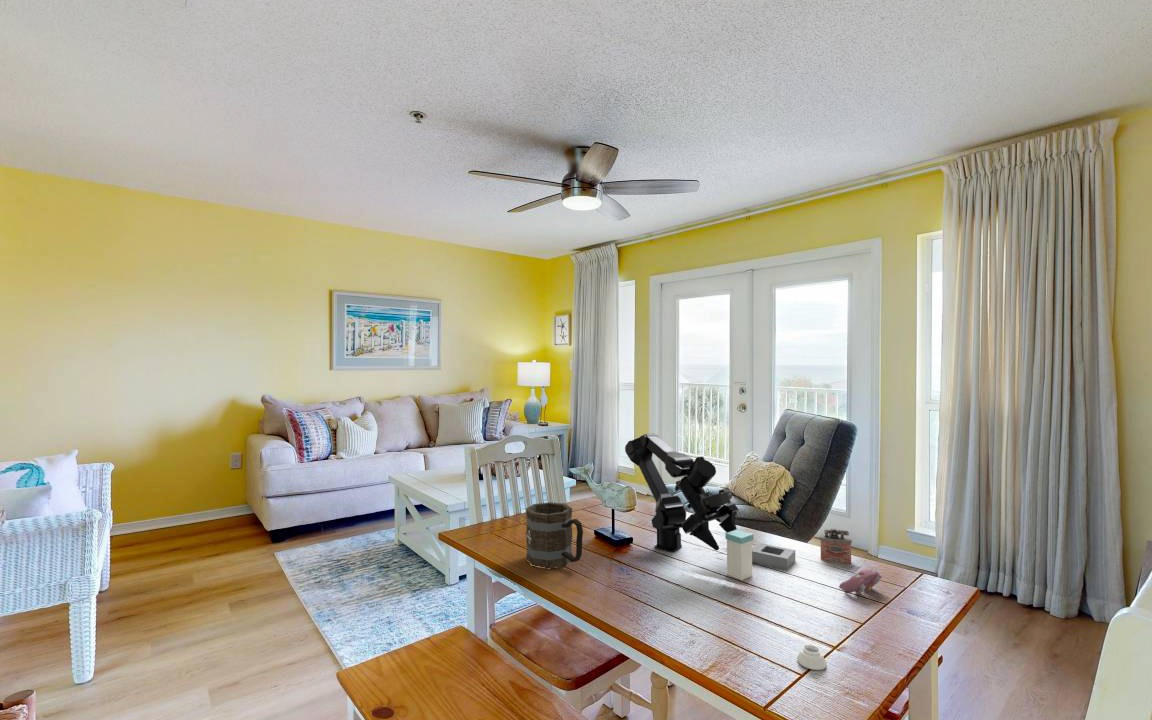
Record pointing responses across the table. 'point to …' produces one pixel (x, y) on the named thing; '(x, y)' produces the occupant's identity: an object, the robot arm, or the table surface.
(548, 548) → the mug
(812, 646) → the white jar
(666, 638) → the table surface
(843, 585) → the video game controller
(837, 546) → the lighter
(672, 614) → the table surface
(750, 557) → the plug
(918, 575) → the table surface
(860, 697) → the table surface
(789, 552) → the grey hollow block
